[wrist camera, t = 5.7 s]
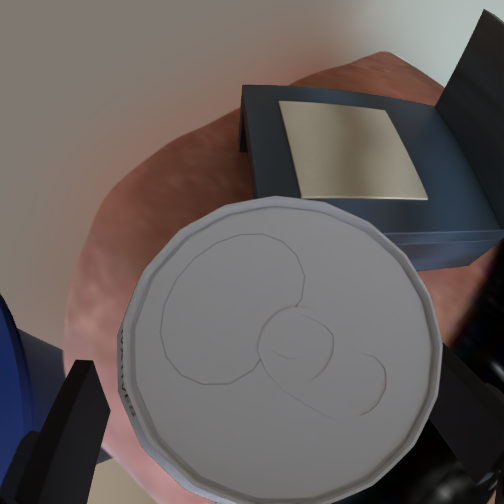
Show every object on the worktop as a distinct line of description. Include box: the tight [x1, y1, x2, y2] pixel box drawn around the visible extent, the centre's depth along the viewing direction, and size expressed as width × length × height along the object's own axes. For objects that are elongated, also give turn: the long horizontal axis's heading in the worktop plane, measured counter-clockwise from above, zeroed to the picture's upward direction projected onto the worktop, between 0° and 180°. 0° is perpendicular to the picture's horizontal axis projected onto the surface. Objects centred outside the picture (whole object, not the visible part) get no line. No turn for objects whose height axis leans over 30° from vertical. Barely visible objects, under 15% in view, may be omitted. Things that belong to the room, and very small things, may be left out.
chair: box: [238, 9, 504, 271], centre depth 19 cm, size 20×14×18 cm
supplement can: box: [117, 196, 443, 504], centre depth 13 cm, size 8×8×15 cm
